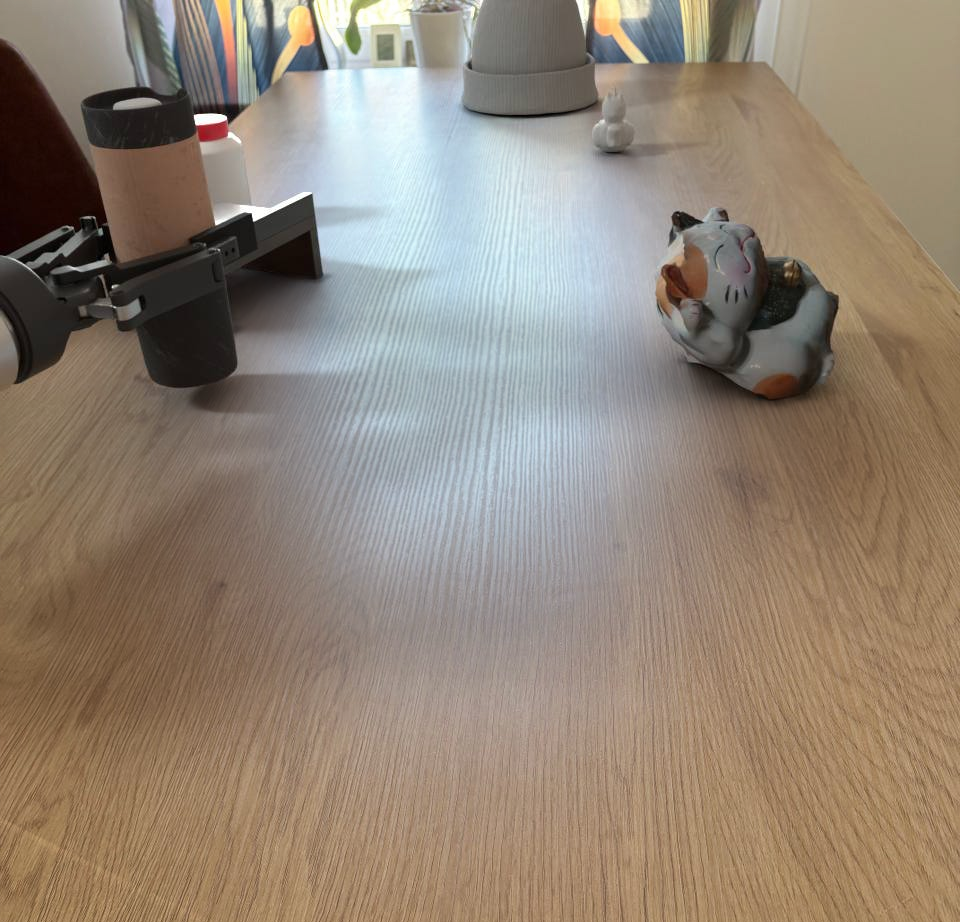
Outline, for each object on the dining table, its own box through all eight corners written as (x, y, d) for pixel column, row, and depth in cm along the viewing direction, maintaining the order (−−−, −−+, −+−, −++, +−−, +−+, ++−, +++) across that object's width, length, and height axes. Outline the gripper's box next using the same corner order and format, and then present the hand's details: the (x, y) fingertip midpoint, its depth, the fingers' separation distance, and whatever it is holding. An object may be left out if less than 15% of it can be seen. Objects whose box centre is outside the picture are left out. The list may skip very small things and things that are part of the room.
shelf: (124, 314, 102) (103, 228, 97) (228, 260, 113) (214, 181, 108) (224, 333, 98) (207, 243, 93) (323, 275, 109) (312, 192, 104)
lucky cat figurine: (825, 413, 80) (758, 259, 72) (680, 440, 88) (604, 304, 80) (858, 289, 88) (801, 137, 80) (722, 324, 96) (657, 188, 87)
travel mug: (155, 397, 83) (86, 115, 70) (137, 361, 88) (71, 94, 76) (252, 377, 85) (202, 100, 73) (229, 342, 91) (179, 80, 78)
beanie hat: (601, 149, 173) (611, 15, 170) (584, 106, 152) (596, -48, 149) (474, 149, 177) (481, 18, 174) (441, 107, 157) (449, -43, 153)
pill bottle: (173, 224, 124) (152, 121, 117) (231, 209, 128) (213, 108, 121) (209, 238, 119) (188, 132, 112) (267, 222, 123) (251, 118, 116)
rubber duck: (631, 145, 144) (634, 79, 139) (635, 158, 138) (638, 90, 134) (590, 146, 144) (592, 80, 139) (592, 159, 139) (594, 91, 134)
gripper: (-108, 361, 74) (119, 256, 90) (117, 415, 67) (323, 289, 82) (-152, 252, 70) (96, 161, 85) (84, 296, 62) (310, 187, 77)
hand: (207, 224), depth 84 cm, fingers closed on travel mug, 8 cm apart
